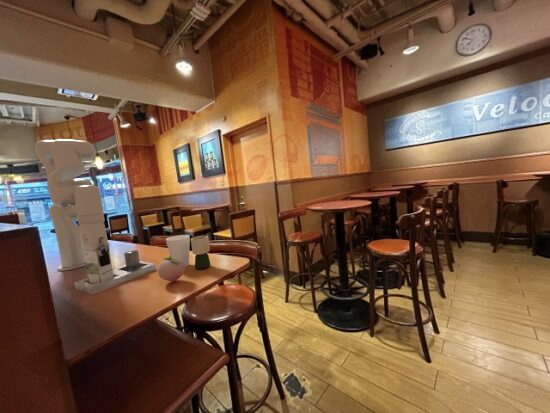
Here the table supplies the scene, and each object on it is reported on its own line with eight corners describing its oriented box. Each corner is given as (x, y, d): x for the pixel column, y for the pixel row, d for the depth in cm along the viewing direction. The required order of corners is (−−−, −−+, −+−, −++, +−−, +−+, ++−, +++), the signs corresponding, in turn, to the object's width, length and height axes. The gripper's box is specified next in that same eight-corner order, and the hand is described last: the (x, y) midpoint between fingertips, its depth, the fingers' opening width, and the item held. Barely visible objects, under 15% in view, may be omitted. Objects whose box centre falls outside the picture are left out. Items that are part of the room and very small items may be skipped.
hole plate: (75, 288, 84) (71, 265, 83) (138, 265, 105) (135, 247, 104) (92, 294, 78) (88, 269, 77) (156, 269, 99) (153, 249, 98)
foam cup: (170, 265, 102) (166, 237, 101) (191, 261, 106) (188, 233, 105) (170, 272, 94) (166, 241, 93) (193, 267, 98) (190, 237, 96)
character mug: (218, 266, 96) (215, 236, 95) (204, 272, 91) (200, 241, 89) (201, 262, 103) (198, 234, 101) (188, 268, 97) (184, 238, 95)
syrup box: (115, 281, 89) (109, 245, 87) (102, 288, 83) (95, 249, 82) (102, 281, 90) (96, 245, 88) (88, 288, 84) (81, 250, 82)
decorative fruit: (154, 285, 82) (150, 258, 81) (173, 276, 89) (169, 251, 88) (172, 289, 78) (168, 261, 77) (190, 279, 85) (187, 253, 84)
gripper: (68, 220, 84) (75, 264, 86) (91, 221, 76) (99, 270, 78) (91, 217, 91) (98, 258, 93) (115, 217, 83) (122, 262, 85)
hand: (98, 263), depth 86 cm, fingers open, 9 cm apart
